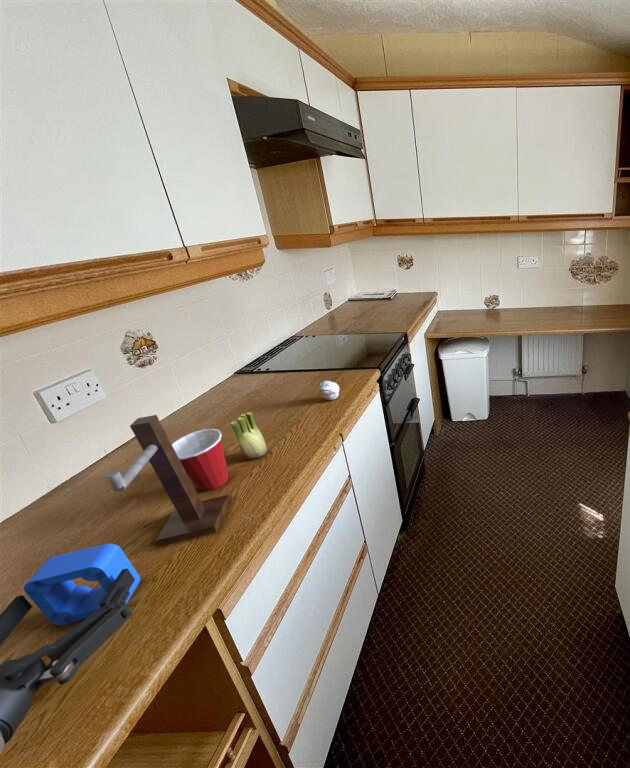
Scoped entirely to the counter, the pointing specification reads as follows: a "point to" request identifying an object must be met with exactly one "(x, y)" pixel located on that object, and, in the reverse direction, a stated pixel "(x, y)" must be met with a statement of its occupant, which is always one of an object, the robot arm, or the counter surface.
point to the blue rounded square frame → (67, 599)
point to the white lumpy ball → (329, 390)
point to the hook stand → (171, 485)
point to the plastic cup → (203, 458)
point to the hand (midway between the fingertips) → (78, 587)
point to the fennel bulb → (249, 437)
